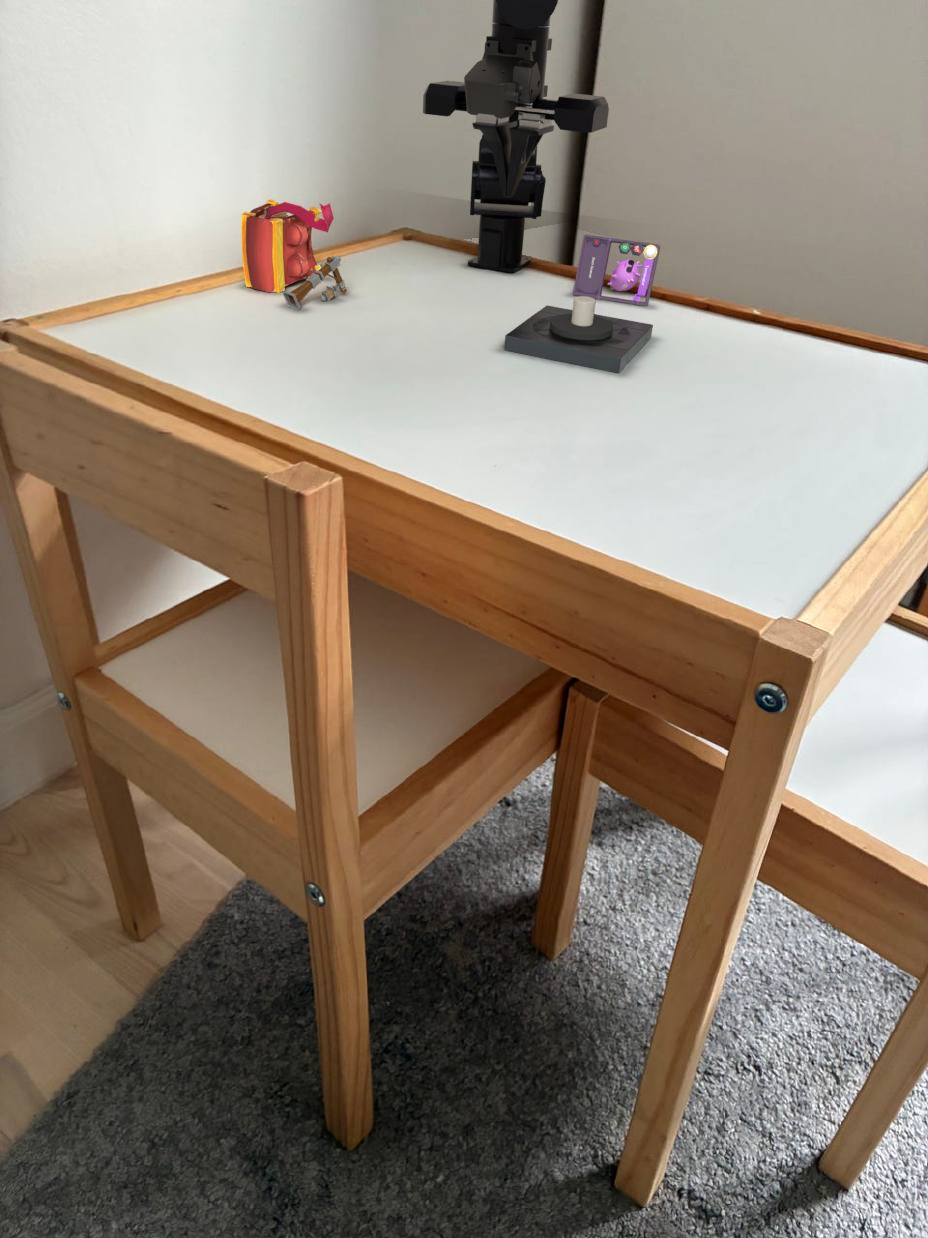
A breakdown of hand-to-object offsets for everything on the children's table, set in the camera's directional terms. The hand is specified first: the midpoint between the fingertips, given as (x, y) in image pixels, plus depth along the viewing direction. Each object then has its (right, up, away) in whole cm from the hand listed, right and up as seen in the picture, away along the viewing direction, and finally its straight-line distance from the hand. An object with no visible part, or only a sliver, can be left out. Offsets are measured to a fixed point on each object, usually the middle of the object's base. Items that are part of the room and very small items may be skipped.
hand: (508, 196), depth 98 cm
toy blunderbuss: (-21, -11, +2) cm, 24 cm away
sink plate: (+7, -18, -5) cm, 20 cm away
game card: (+13, -7, +10) cm, 18 cm away
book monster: (-24, -8, +7) cm, 26 cm away
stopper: (+7, -18, -5) cm, 20 cm away
